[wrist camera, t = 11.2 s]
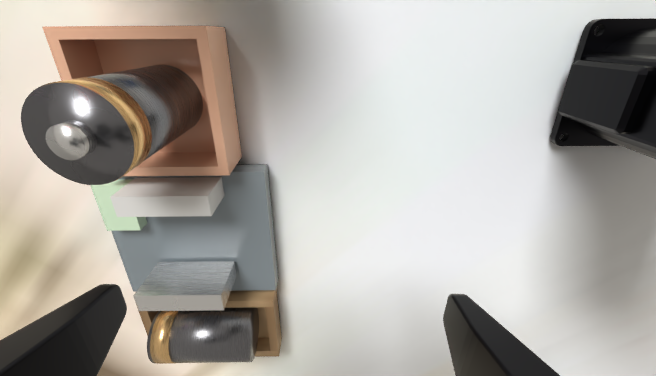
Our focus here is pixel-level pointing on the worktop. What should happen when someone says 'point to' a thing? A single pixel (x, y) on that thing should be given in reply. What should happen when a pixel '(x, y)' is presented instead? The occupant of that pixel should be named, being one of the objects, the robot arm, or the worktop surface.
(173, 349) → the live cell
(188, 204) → the grey flat block
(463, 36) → the worktop surface
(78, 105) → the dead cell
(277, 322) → the trough
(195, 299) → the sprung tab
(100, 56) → the salmon pink square tray
